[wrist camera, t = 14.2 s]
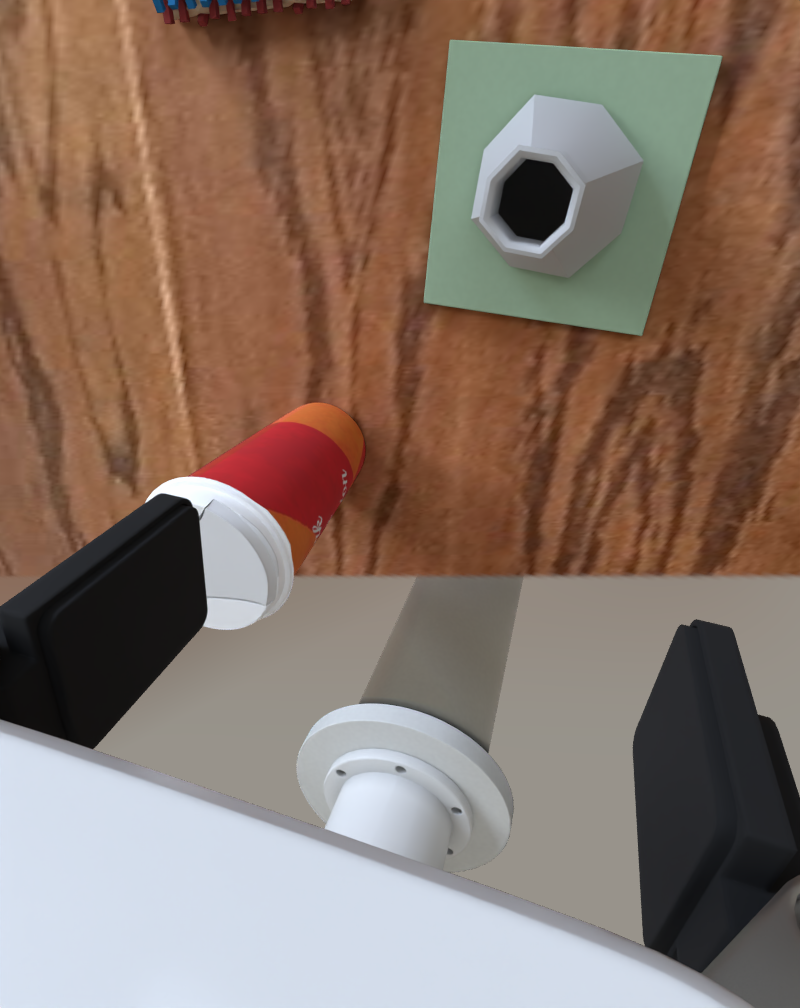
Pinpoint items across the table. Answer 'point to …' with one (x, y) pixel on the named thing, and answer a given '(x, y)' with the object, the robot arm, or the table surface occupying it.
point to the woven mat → (229, 8)
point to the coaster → (655, 203)
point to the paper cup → (269, 508)
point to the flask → (555, 185)
